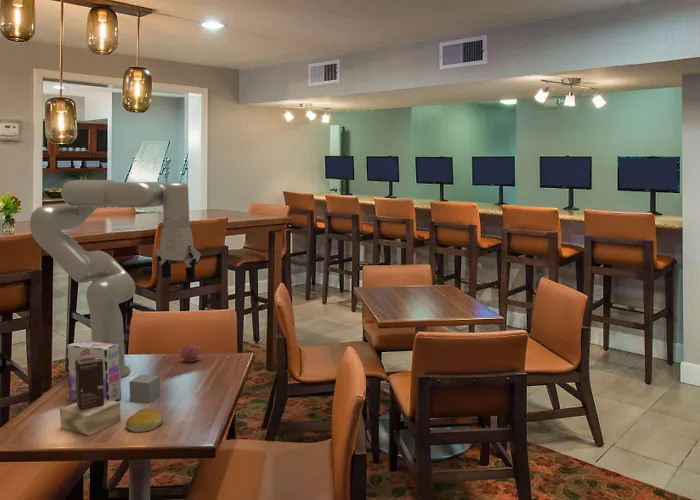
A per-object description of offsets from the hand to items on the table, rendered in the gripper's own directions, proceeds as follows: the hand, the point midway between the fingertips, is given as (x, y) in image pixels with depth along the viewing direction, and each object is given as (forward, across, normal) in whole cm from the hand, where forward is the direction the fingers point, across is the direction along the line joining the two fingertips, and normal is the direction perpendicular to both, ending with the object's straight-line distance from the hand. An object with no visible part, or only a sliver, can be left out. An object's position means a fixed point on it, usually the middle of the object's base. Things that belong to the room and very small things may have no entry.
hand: (178, 278), depth 186 cm
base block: (+32, +4, -37) cm, 49 cm away
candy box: (+32, -10, -25) cm, 42 cm away
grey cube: (+32, +2, -17) cm, 37 cm away
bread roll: (+33, +16, -31) cm, 48 cm away
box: (+27, +4, -37) cm, 46 cm away
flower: (+32, -11, +15) cm, 37 cm away
